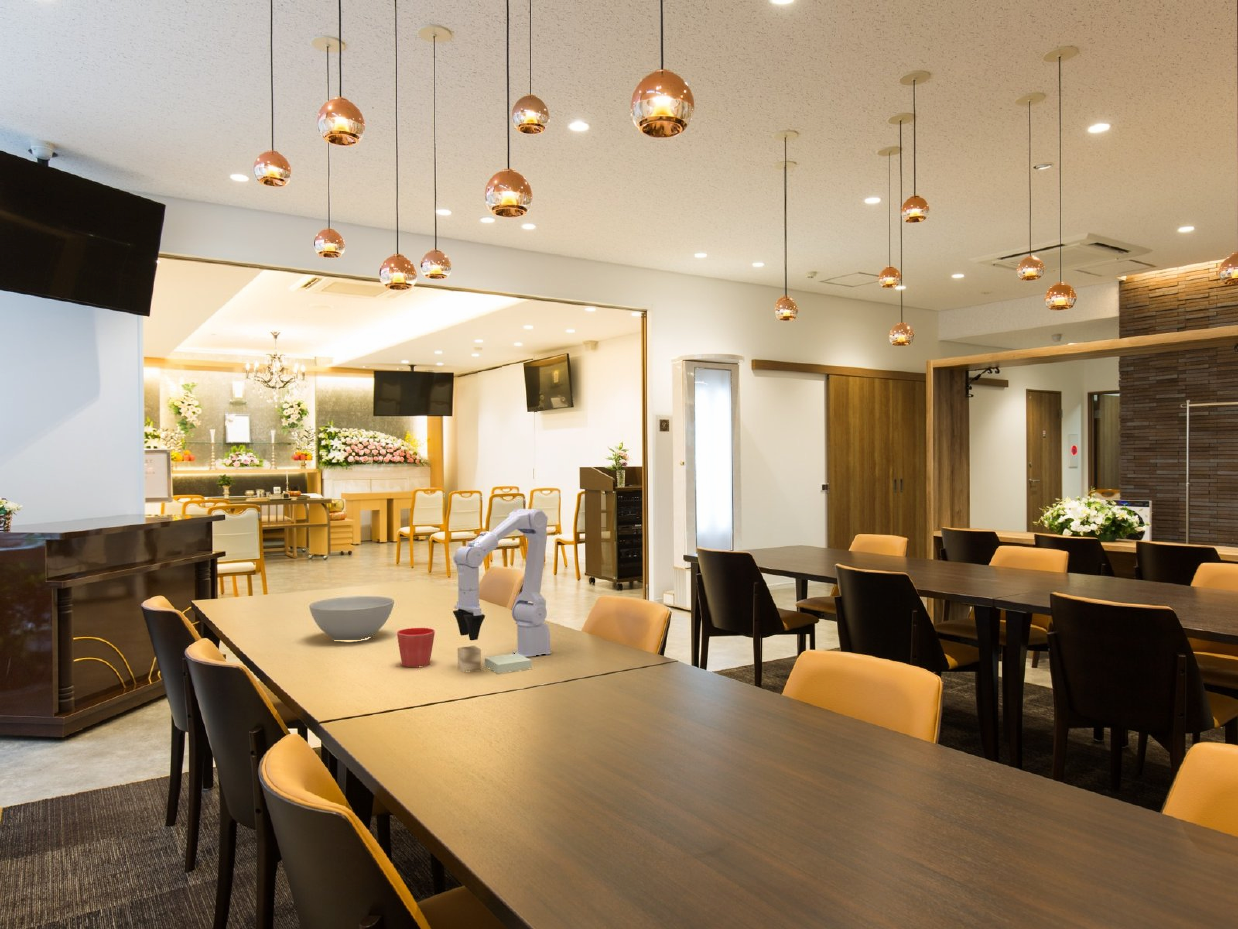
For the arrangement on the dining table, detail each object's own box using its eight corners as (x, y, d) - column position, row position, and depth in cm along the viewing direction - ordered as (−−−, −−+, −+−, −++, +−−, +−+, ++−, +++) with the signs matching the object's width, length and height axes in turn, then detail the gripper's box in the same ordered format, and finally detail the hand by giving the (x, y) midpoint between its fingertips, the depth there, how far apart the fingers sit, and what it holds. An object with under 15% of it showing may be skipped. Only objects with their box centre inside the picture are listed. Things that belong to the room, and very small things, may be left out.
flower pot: (440, 660, 240) (439, 627, 240) (427, 669, 229) (427, 635, 229) (405, 659, 241) (405, 627, 241) (391, 669, 230) (391, 634, 230)
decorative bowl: (306, 635, 278) (306, 599, 278) (387, 628, 289) (387, 594, 289) (313, 651, 253) (312, 612, 253) (400, 642, 265) (400, 605, 265)
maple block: (474, 666, 232) (474, 645, 232) (480, 670, 228) (480, 649, 228) (457, 669, 230) (457, 647, 230) (463, 673, 225) (463, 651, 225)
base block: (517, 663, 237) (517, 653, 237) (531, 670, 229) (531, 660, 229) (484, 668, 232) (484, 657, 232) (498, 675, 224) (498, 664, 224)
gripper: (446, 587, 233) (446, 634, 233) (463, 593, 220) (464, 643, 220) (470, 585, 237) (470, 631, 237) (488, 591, 224) (488, 640, 224)
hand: (468, 637), depth 229 cm, fingers open, 7 cm apart
